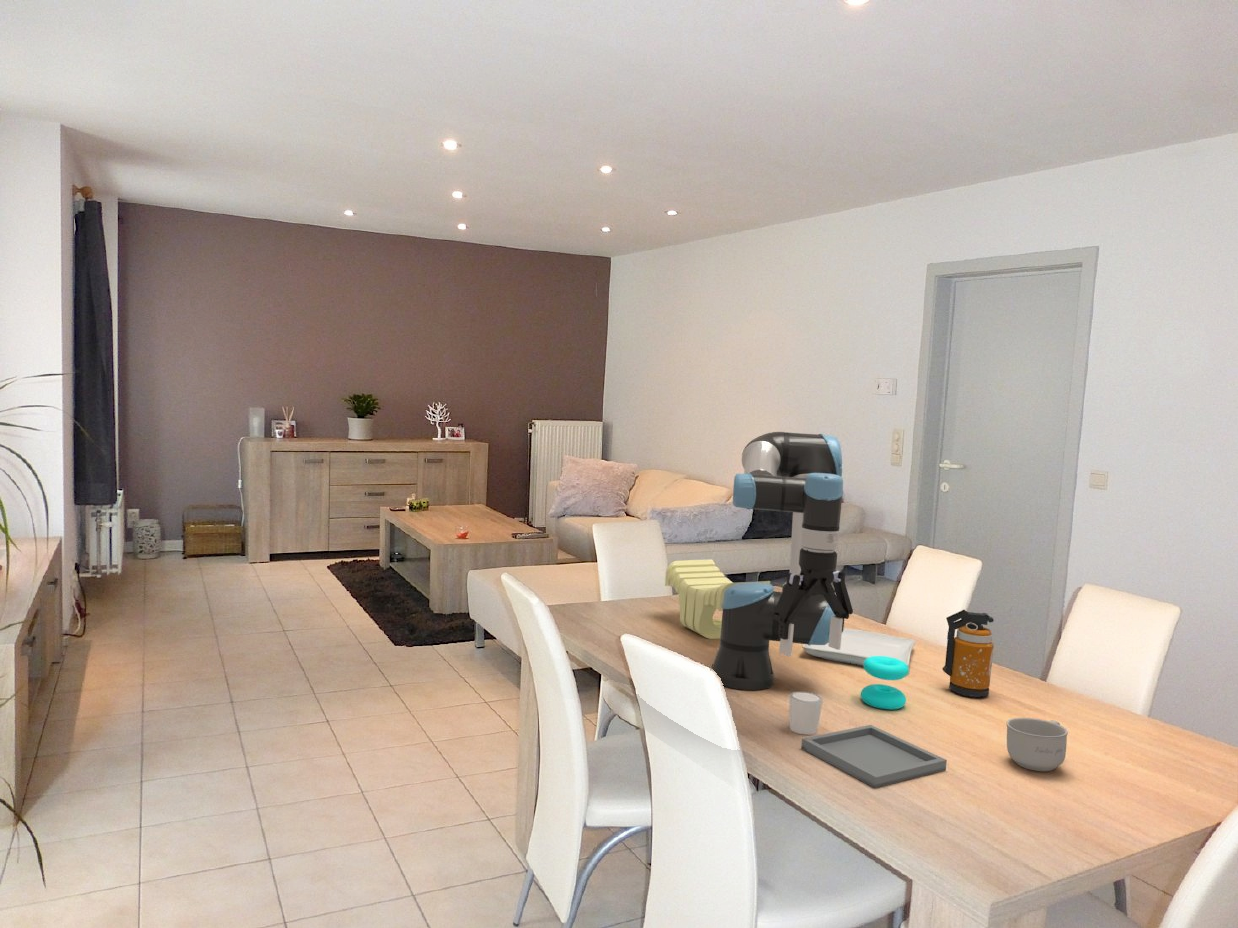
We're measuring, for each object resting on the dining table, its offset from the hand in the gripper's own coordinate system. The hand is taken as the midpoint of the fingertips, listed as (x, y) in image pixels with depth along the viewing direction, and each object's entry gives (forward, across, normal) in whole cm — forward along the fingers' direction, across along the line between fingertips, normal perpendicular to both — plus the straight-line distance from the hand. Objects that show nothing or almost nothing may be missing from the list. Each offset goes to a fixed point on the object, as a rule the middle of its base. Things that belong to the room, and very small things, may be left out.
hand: (810, 651), depth 185 cm
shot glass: (+17, 0, 0) cm, 17 cm away
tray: (+17, +2, -17) cm, 24 cm away
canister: (+17, +55, +3) cm, 58 cm away
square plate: (+17, +54, +36) cm, 67 cm away
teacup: (+17, +32, -32) cm, 48 cm away
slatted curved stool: (+17, +28, +68) cm, 75 cm away
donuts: (+17, +29, +5) cm, 34 cm away
